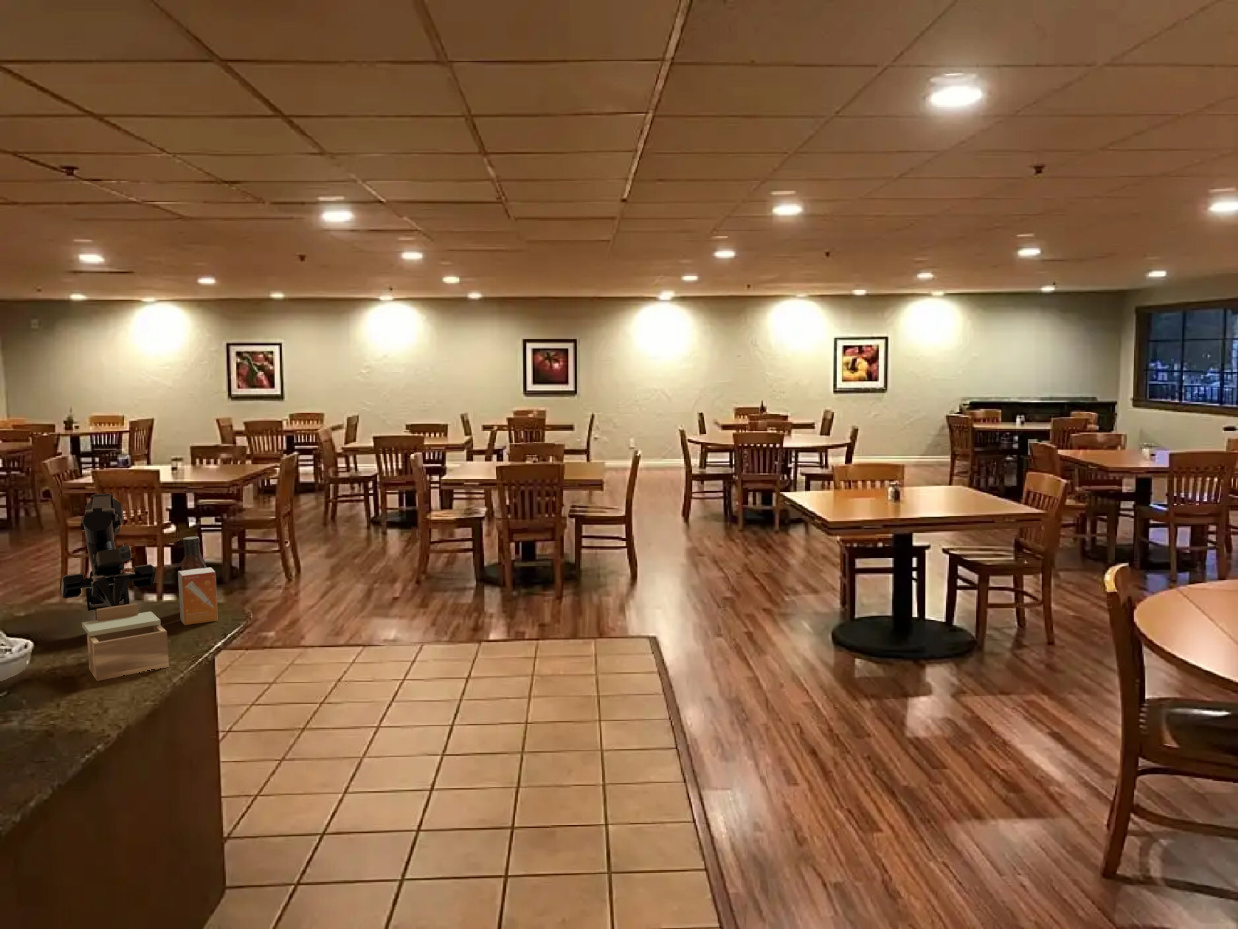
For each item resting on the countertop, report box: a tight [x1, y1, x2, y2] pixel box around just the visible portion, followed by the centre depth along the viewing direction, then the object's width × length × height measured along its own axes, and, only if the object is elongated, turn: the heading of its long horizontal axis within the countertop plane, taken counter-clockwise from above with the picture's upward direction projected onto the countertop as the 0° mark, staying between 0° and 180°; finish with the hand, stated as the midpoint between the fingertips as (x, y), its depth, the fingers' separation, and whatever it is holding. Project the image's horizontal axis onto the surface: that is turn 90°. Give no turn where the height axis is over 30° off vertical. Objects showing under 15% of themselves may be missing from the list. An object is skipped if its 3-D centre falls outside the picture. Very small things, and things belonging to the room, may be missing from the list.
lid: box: [81, 602, 161, 636], centre depth 208 cm, size 9×14×4 cm, turn 128°
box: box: [86, 624, 170, 682], centre depth 204 cm, size 9×14×8 cm, turn 128°
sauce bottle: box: [180, 536, 208, 571], centre depth 249 cm, size 6×6×20 cm
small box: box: [177, 567, 219, 626], centre depth 240 cm, size 8×6×13 cm
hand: (116, 611), depth 211 cm, fingers closed
